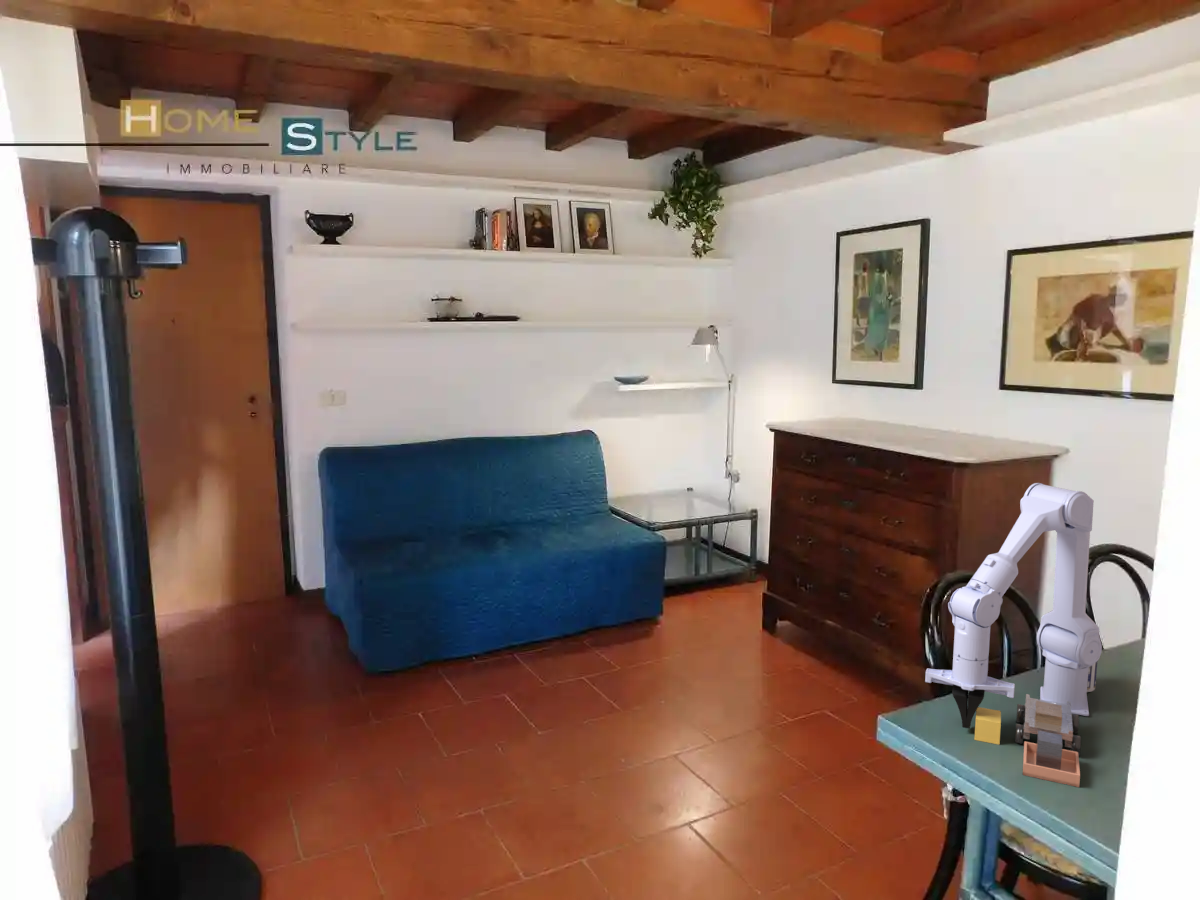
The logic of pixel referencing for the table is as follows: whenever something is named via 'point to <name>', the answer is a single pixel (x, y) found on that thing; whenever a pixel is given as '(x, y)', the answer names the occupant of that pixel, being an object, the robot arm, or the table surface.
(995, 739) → the chock
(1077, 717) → the trolley
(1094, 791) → the table surface
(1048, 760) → the grey matte cube
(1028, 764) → the tray
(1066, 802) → the table surface
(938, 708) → the table surface
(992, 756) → the table surface
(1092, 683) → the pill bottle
